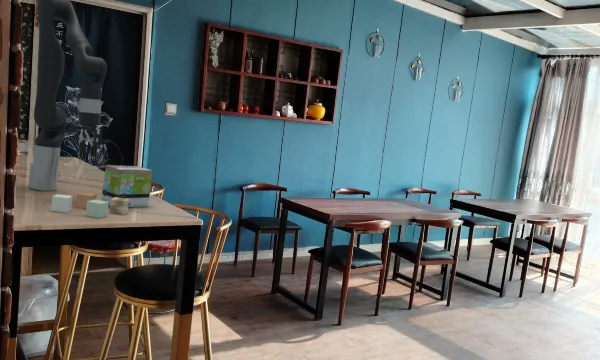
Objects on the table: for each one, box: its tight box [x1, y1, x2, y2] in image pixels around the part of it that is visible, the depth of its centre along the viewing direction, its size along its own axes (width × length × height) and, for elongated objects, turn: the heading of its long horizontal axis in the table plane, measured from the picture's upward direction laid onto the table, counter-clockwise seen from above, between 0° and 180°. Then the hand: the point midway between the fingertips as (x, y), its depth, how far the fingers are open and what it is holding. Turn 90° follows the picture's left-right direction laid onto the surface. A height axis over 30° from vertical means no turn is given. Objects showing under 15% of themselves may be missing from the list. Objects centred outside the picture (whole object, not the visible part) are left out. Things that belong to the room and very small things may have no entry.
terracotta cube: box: [75, 191, 98, 210], centre depth 185 cm, size 5×5×5 cm
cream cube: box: [50, 193, 73, 214], centre depth 175 cm, size 5×5×5 cm
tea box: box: [100, 164, 154, 208], centre depth 199 cm, size 15×10×15 cm, turn 148°
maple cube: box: [109, 197, 129, 216], centre depth 185 cm, size 5×5×5 cm
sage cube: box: [85, 199, 109, 219], centre depth 175 cm, size 5×5×5 cm
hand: (87, 155), depth 193 cm, fingers open, 8 cm apart
